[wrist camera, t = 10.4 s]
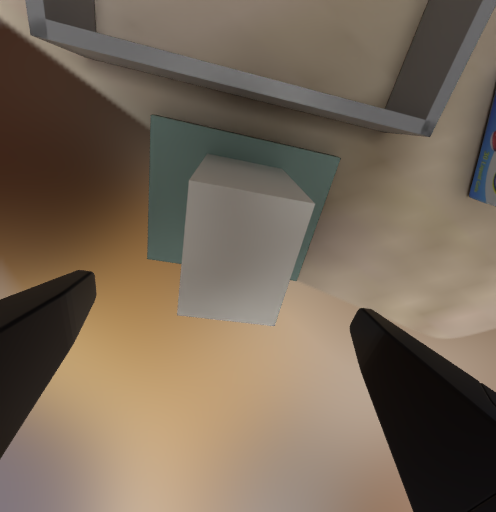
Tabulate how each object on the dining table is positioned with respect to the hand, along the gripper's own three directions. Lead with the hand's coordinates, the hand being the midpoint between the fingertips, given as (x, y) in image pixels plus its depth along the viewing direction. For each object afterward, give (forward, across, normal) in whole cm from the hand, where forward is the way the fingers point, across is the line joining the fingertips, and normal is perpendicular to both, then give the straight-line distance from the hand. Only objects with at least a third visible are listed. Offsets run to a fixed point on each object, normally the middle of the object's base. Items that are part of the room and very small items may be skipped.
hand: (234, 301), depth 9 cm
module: (+9, 0, 0) cm, 9 cm away
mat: (+10, 0, 0) cm, 10 cm away
